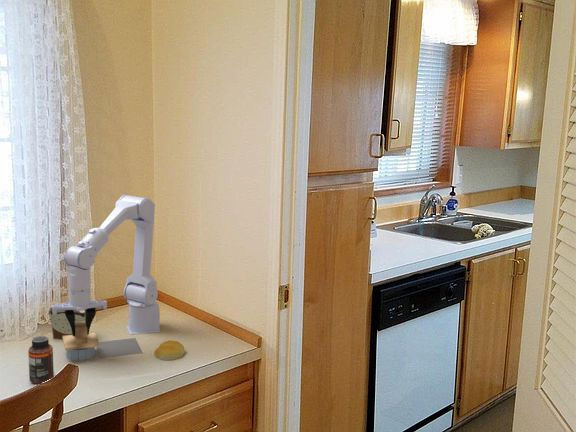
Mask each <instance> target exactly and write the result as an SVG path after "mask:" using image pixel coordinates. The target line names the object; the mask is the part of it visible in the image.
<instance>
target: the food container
mask: <svg viewBox="0 0 576 432" xmlns="http://www.w3.org/2000/svg"><path fill="white" fill-rule="evenodd" d="M74 314H75V322H77V321H85V323H86V317H85V310H80V311H74ZM47 315H48V316H50V326H51V333H52V339H53V340H62V341H63V336H67V335H72V329H71V326H70V324H69V321H68V320H67V318H66V316H65V312H57V313H55V314H53V312H52V306H51V307H50V308H49V310H48V313H47Z"/></svg>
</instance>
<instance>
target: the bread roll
mask: <svg viewBox="0 0 576 432" xmlns="http://www.w3.org/2000/svg"><path fill="white" fill-rule="evenodd" d="M185 352H186V350H185V347H184V345H183V344H182V343H181V342H180V341H178V340H171V339H170V340H166V341H164V342H162V343H161V344H160V345H159V346H158V347H157V348H155V351H154V353H153V355H154V357H155V358H157V359H159V360H161V361H174V360H178V359H181V358H182V357H183V356H184V354H185Z"/></svg>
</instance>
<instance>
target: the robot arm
mask: <svg viewBox="0 0 576 432" xmlns="http://www.w3.org/2000/svg"><path fill="white" fill-rule="evenodd" d="M114 207H115V208H114V209H113V210H112V211H111V212H110V214H108V216H107V218H106V219H105V220H104V221H103V222H102V223H101V225H100V226H99V227H93V228H90V229H89V230H88V233H87V234H86V235H85V236H84V237H83V238H82V239H81V240H80V241H78V242H77V244H76V245H73V246H71V247H69V248H68V249H67V250H66V251H65V254H64V256H63V259H62V260H63V262H64V264H65V265H66V269H67V272H68V296H69V297H68V300H69V301H68V302H61V303H57V304H52V305H51V307H52V312H53V314H55V313H57V312H65V316H66V318H67V320H68V321H69V324H70V326H71V329H72V335H73V336H75V314H74V311H80V310H85V317H86V326H87V335H89V333H90V329H91V325H92V323H93V320H94V318H95V316H96V314H97V311H96V310H97V309H98V310H99V309H102V310H106V309H108V302H107V300H104V299H103V300H95V299H91V267H92V266H94V264H95V261H96V258H97V256H98V254H99V252H100V251H101V250H102V249H103V248H105V247H104V246H105V245H107V243H108V242H109V241H110V240H109V236H110V235H111V234H112V233H113V232H114V231H115V230H116V229H118V227H119V226H120V225H121V224H123V222H125V221H127V220H131V221H132V222H133V224H134V225H135V236H134V238H135V239H134V251H133V253H134V254H133V266H132V273H131V274H130V275H129V276H128V277H126V282H125V286H124V288H123V297H124V299H125V300H126V301H127V304H128V325H125V328H126V330H127V331H128V334H129V335H130V336H133V335H142V334H150V333H152V334H153V333H160V331H161V330H160V326H161V325H160V323H161V322H160V321H161V320H160V319H161V318H160V317H161V316H160V315H161V314H160V313H161V312H160V310H161V309H160V304H159V302H157V299H158V296H159V291H158V288H157V283H158V281H156V279H155V278H154V277H153V276H152V274H151V269H152V268H151V267H152V254H153V242H154V241H153V239H154V230H155V229H154V227H155V225H154V224H155V210H156V209H155V207H156V204H155V203H154V202H153V200H152V199H150V198H149V197H139V196H134V195H129V194H123V195H122V196H120V198H119V199H117V201H116V202H115V206H114Z"/></svg>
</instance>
